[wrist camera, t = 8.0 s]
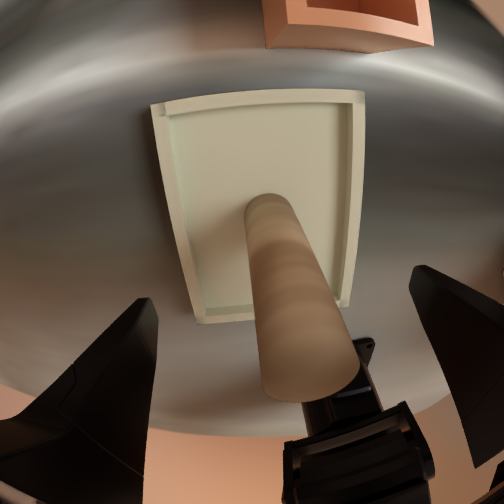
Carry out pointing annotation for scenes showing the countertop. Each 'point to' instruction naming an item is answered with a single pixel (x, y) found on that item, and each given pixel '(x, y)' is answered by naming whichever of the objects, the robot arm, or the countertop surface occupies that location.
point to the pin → (294, 308)
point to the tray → (260, 184)
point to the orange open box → (347, 24)
